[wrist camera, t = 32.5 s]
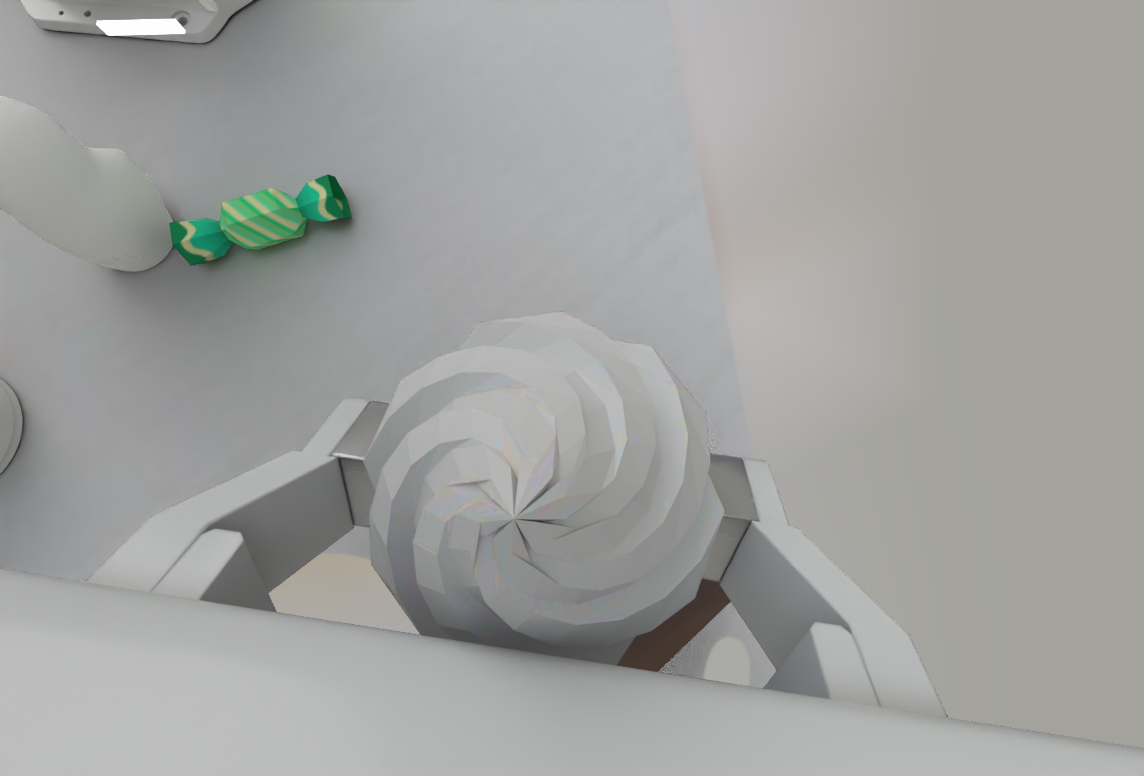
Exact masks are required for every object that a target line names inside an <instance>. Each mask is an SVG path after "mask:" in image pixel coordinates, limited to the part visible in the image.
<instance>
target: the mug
mask: <svg viewBox="0 0 1144 776" xmlns="http://www.w3.org/2000/svg"><path fill="white" fill-rule="evenodd" d="M22 422H23V418H22V411H21V407H20V404H19V401H18V399H17V397H16V395H15V393H14V392H13V390H12V389H11V388H10V387H9V386H8V384H6V383H5V382H4V381H3V380H2V379H0V473H1V472H2V471H3V470H4V469H5V468H6V467H7V465H8V464H9V462H10V461H11V459H12V458H13V456H14V454H15V452H16V450H17V448H18V445H19V442H20V439H21V433H22Z"/></svg>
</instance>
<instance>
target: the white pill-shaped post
mask: <svg viewBox="0 0 1144 776" xmlns="http://www.w3.org/2000/svg"><path fill="white" fill-rule="evenodd" d="M0 209H2V210H3V211H5V212H6V213H8V214H9V215H11V216H12V217H14V218H15V219H16V220H18V221H19V222H20V223H21V224H23V225H24V226H25V227H26V228H28V229H29V230H30V231H32V232H33V233H35V234H36V235H38V236H39V237H41V238H42V239H44V240H46V241H47V242H49V243H51V244H52V245H54V246H56V247H58V248H60V249H62V250H64V251H66V252H68V253H70V254H72V255H75V256H77V257H79V258H82V259H84V260H87V261H90V262H93V263H96V264H98V265H102V266H105V267H109V268H113V269H117V270H123V271H130V272H137V271H143V270H146V269H149V268H152V267H154V266H155V265H157V264H158V263H160V262H161V261H162V260H163V259H164V258H165V257H166V256H167V255H168V254H169V252H170V251H171V249H172V247H173V245H172V239H171V232H170V226H169V223H172V222H174V221H173V219H172V217H171V216H170V214H169V212H168V211H167V209H166V207H165V205H164V203H163V201H162V199H161V197H160V195H159V193H158V191H157V189H156V187H155V186H154V184H153V183H152V181H151V180H150V178H149V177H148V176H147V175H146V173H145V172H144V171H143V170H142V168H141V167H140V166H139V165H138V164H137V163H136V162H135V161H134V160H133V159H132V158H131V157H130V156H128V155H127V154H126V153H124V152H122V151H120V150H118V149H113V148H90V147H86V146H84V145H82V144H81V143H80V142H79V141H78V140H77V139H76V138H75V137H74V136H72V135H71V134H70V133H69V132H68V131H67V130H66V129H65V128H64V127H63V126H61V125H60V124H59V123H58V122H56V121H55V120H54V119H52V118H51V117H50V116H48V115H46V114H45V113H43V112H41V111H40V110H38V109H36V108H34V107H32V106H30V105H27V104H25V103H23V102H20V101H17V100H14V99H11V98H8V97H3V96H0Z"/></svg>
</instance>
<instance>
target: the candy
mask: <svg viewBox="0 0 1144 776" xmlns="http://www.w3.org/2000/svg"><path fill="white" fill-rule="evenodd" d="M307 218H308V219H313V220H317V221H322V222H325V221H329V220H334V219H339V218H352V217H351V213H350V209H349V205H348V202H347V198H346V196H345V194H344V192H343V191H342V189H341V187H340V185H339V183H338V182H337V180H336V178H335V177H334V176H331V175H325V176H323V177H320V178H318V179H316V180H313V181H311V182H308V183H306V184H305V186H304V187H303V189H302V190H301V192H300V193H299V195H298V196H297V198H296V199H295V198H293V197H291V196H289V195H287V194H285V193H283V192H281V191H279V190H276V189H274V188H269V189H266V190H263V191H259V192H256V193H253V194H250V195H246V196H243V197H240V198H236V199H233V200H230V201H227V202H223V203H222V207H221V216H220V221H215V220H211V219H197V220H189V221H180V222H172V223H169V226H170V232H171V239H172V245H173V246H174V247H175V248H176V249H177V250H178V252H179V253H180V254H181V255H182V256H183V257H184V258H185V259H186V260H187V262H188V263H189V264H190V265H196V264H204V263H207V262H209V261H212V260H214V259H216V258H219V257H221V256H224V255H225V254H226V252H227V251H228V249H229V248H230V246H231V245H232V243H233V242H234V243H236V244H238V245H240V246H242V247H244V248H246V249H252V250H260V249H263V248H266V247H269V246H273V245H276V244H279V243H282V242H285V241H289V240H292V239H295V238H298V237H302V236H304V231H305V227H306V222H307Z"/></svg>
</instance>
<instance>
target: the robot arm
mask: <svg viewBox="0 0 1144 776" xmlns="http://www.w3.org/2000/svg"><path fill="white" fill-rule="evenodd" d="M20 1H21V3H22V5H23V7H24V9H25V10H26V12H27V13H28V15H29V16H30V17H31V18H32V19H33V20H34V21H35V22H36V23H37V24H38V25H39V26H40V27H41V28H44V29H48V30H57V31H68V32H79V33H90V34H101V35H108V36H123V37H134V38H146V39H157V40H168V41H179V42H190V43H205V42H208V41H210V40H212V39H213V38H214V37H215V36H216V35H217V34H218V32H219V31H220V30H221V29H222V27H223V26H224V24H225V23H226V22H227V20H228V19H229V17H230V16H231V15H233V14H234V13H235V12H236V11H238V10H239V9H241V8H242V7H244V6H245V5H247V4H248V3H250V2H251V1H253V0H20ZM388 407H389V404H388V403H382V402H377V401H368V400H363V399H357V398H351V397H348V398H345V399H343V400H342V401H341V402H340V403H339V404H338V405H337V407H336V408H335V409H334V410H333V412H332V413H331V414H330V415H329V417H328V418H327V419H326V420H325V422H324V423H323V424H322V425H321V427H320V428H319V429H318V430H317V432H316V433H315V434H314V435H313V437H312V438H311V439H310V440H309V442H308V443H307V444H306V445H305V447H304V448H303V449H302V450H301V451H295V450H292V451H290V452H288V453H286V454H284V455H282V456H279V457H277V458H275V459H273V460H271V461H269V462H266V463H264V464H262V465H260V466H258V467H256V468H254V469H251V470H249V471H247V472H245V473H243V474H241V475H238V476H236V477H234V478H232V479H230V480H228V481H225V482H223V483H221V484H219V485H217V486H215V487H212V488H210V489H208V490H206V491H204V492H202V493H199V494H197V495H195V496H193V497H191V498H189V499H187V500H184V501H182V502H180V503H178V504H176V505H174V506H171V507H169V508H167V509H165V510H163V511H161V512H158V513H156V514H154V515H152V516H151V517H150V518H149V519H148V520H147V521H146V522H145V523H144V524H143V525H142V526H141V527H139V528H138V529H137V530H136V531H135V532H134V533H133V534H132V535H131V536H130V537H129V538H128V539H127V540H126V541H125V542H124V543H123V544H122V545H121V546H120V547H119V548H118V549H117V550H116V551H115V552H114V553H113V554H112V555H111V556H110V557H109V558H108V559H107V560H106V561H105V562H104V563H103V564H102V565H101V566H100V567H99V568H98V569H97V570H96V571H95V572H94V573H93V574H92V575H91V576H90V577H89V578H88V579H87V580H86V581H85V582H81V581H74V580H68V579H62V578H55V577H49V576H43V575H36V574H30V573H24V572H17V571H11V570H5V569H0V776H1144V748H1139V747H1132V746H1125V745H1119V744H1113V743H1107V742H1100V741H1093V740H1087V739H1081V738H1075V737H1068V736H1062V735H1055V734H1049V733H1042V732H1037V731H1030V730H1024V729H1017V728H1011V727H1005V726H998V725H992V724H985V723H979V722H973V721H967V720H959V719H954V718H948V715H947V714H946V712H945V709H944V707H943V705H942V703H941V701H940V698H939V696H938V694H937V692H936V690H935V688H934V686H933V683H932V681H931V679H930V677H929V675H928V673H927V670H926V668H925V666H924V664H923V662H922V660H921V658H920V655H919V653H918V651H917V649H916V647H915V645H914V643H913V640H912V638H911V636H910V634H908V633H907V632H906V631H905V630H904V629H903V628H902V627H901V626H900V625H899V624H898V623H897V622H896V621H895V620H894V619H893V618H892V617H891V616H889V614H888V613H887V612H885V611H884V610H883V609H882V608H881V607H880V606H879V605H878V604H877V603H876V602H875V601H874V600H873V599H872V598H871V597H870V596H868V594H866V592H864V591H863V590H862V589H861V588H860V587H859V586H858V585H857V584H856V583H855V582H854V581H853V580H852V579H851V578H850V577H849V576H848V575H847V574H846V573H844V571H842V570H841V569H840V568H839V567H838V566H837V565H836V564H835V563H834V562H833V561H832V560H831V559H830V558H829V557H828V556H827V555H826V554H825V553H824V552H822V550H820V549H819V548H818V547H817V546H816V545H815V544H814V543H813V542H812V541H811V540H810V539H809V538H808V537H807V536H806V535H805V534H804V533H803V532H801V531H800V530H799V529H798V528H796V527H790V525H789V523H788V519H787V516H786V514H785V510H784V507H783V505H782V502H781V499H780V496H779V493H778V490H777V487H776V484H775V481H774V478H773V475H772V472H771V469H770V466H769V464H768V463H767V462H766V461H765V460H758V459H751V458H743V457H739V458H738V457H733V456H726V455H719V454H712V453H710V467H709V471H708V474H709V477H710V479H711V481H712V483H713V486H714V488H715V490H716V493H717V495H718V497H719V499H720V502H721V504H722V506H723V508H724V511H725V512H724V514H723V517H722V520H721V523H720V526H719V529H718V532H717V535H716V538H715V541H714V544H713V547H712V550H711V553H710V556H709V558H708V561H707V564H706V567H705V570H704V573H703V576H702V579H706V580H711V581H717V582H720V586H721V587H722V589H723V590H724V592H725V593H726V595H727V596H728V598H729V599H730V601H731V602H732V604H733V605H734V607H735V608H736V610H737V611H738V613H739V614H740V616H741V617H742V619H743V620H744V622H745V623H746V625H747V626H748V628H749V629H750V631H751V632H752V634H753V635H754V637H755V638H756V640H757V641H758V643H759V644H760V646H761V647H762V649H763V650H764V652H765V653H766V655H767V656H768V658H769V659H770V661H771V662H772V664H773V665H774V667H775V668H776V670H777V671H776V673H775V674H774V675H773V676H772V678H771V679H770V680H769V682H768V683H767V684H766V685H765V687H764V688H756V687H750V686H743V685H737V684H731V683H724V682H718V681H711V680H705V679H699V678H693V677H686V676H680V675H673V674H667V673H661V672H654V671H648V670H641V669H635V668H629V667H622V666H616V665H610V664H603V663H597V662H590V661H584V660H578V659H571V658H565V657H559V656H552V655H546V654H539V653H533V652H527V651H520V650H514V649H507V648H501V647H495V646H488V645H482V644H475V643H469V642H463V641H456V640H450V639H443V638H437V637H431V636H424V635H418V634H411V633H405V632H399V631H392V630H386V629H379V628H373V627H366V626H360V625H354V624H347V623H341V622H335V621H328V620H322V619H315V618H310V617H303V616H297V615H290V614H284V613H278V612H276V610H275V607H274V606H273V603H272V601H271V599H270V596H269V594H268V593H269V592H270V591H272V590H273V589H274V588H276V587H277V586H278V585H279V584H281V583H282V582H283V581H285V580H286V579H287V578H289V577H290V576H291V575H293V574H294V573H295V572H296V571H298V570H299V569H300V568H301V567H303V566H304V565H306V564H307V563H308V562H310V561H311V560H312V559H313V558H315V557H316V556H318V555H319V554H320V553H321V552H323V551H324V550H325V549H327V548H328V547H329V546H331V545H332V544H333V543H335V542H336V541H337V540H339V539H340V538H341V537H342V536H344V535H345V534H346V533H348V532H349V531H350V530H352V529H353V528H354V526H353V525H355V526H363V527H370V517H369V513H370V510H371V506H372V503H373V499H374V496H375V489H374V487H373V484H372V482H371V480H370V477H369V475H368V472H367V470H366V468H365V465H364V463H363V461H364V459H365V456H366V454H367V452H368V450H369V448H370V446H371V443H372V441H373V439H374V437H375V435H376V433H377V430H378V428H379V426H380V424H381V422H382V420H383V417H384V415H385V413H386V411H387V409H388Z"/></svg>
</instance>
